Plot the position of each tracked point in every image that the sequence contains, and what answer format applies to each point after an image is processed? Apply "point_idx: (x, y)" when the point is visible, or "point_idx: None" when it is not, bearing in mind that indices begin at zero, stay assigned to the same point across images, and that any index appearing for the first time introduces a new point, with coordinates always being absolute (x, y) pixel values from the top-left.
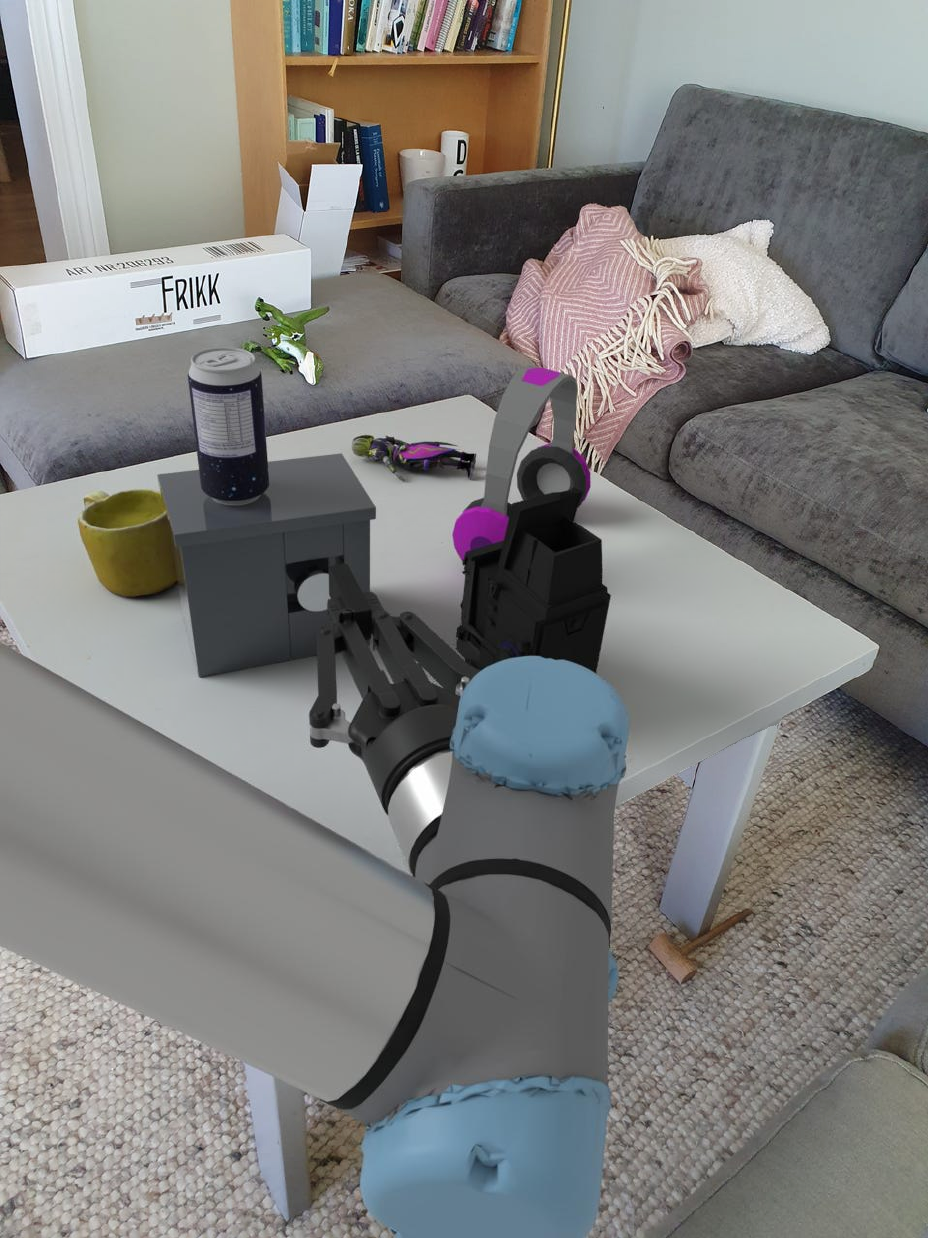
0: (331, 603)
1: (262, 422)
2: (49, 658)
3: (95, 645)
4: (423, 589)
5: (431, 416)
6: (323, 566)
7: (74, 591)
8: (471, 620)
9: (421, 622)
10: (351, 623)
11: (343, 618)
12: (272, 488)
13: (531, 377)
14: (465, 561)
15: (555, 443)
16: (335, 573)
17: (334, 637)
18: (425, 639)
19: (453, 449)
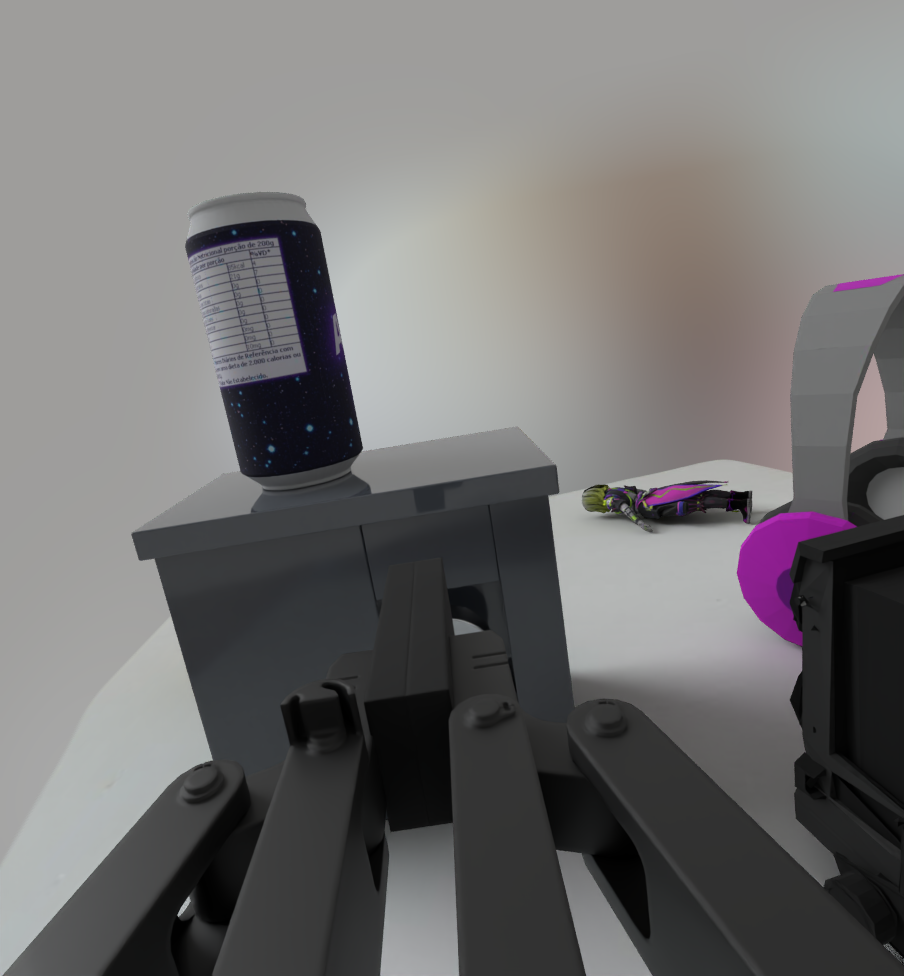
0: (341, 667)
1: (321, 318)
2: (60, 782)
3: (136, 761)
4: (693, 673)
5: (683, 474)
6: (457, 606)
7: (180, 676)
8: (838, 742)
9: (678, 759)
10: (336, 750)
11: (306, 724)
12: (373, 467)
13: (851, 285)
14: (800, 570)
15: (894, 435)
16: (395, 580)
17: (243, 820)
18: (714, 893)
19: (717, 485)
